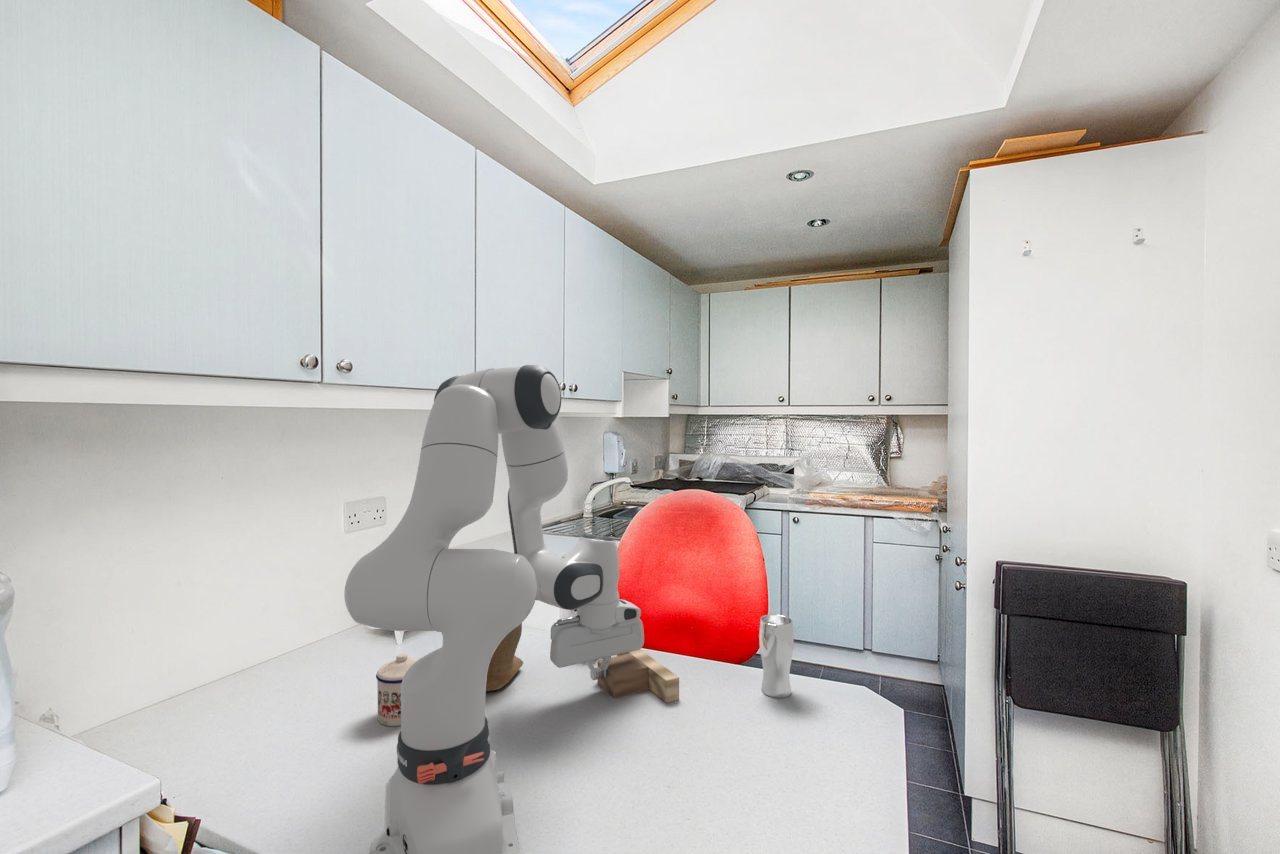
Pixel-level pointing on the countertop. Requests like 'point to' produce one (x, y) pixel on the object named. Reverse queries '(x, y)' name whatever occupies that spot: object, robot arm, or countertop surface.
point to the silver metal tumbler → (776, 654)
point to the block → (624, 676)
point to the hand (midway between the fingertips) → (598, 677)
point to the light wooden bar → (658, 677)
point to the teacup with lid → (392, 689)
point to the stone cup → (504, 661)
